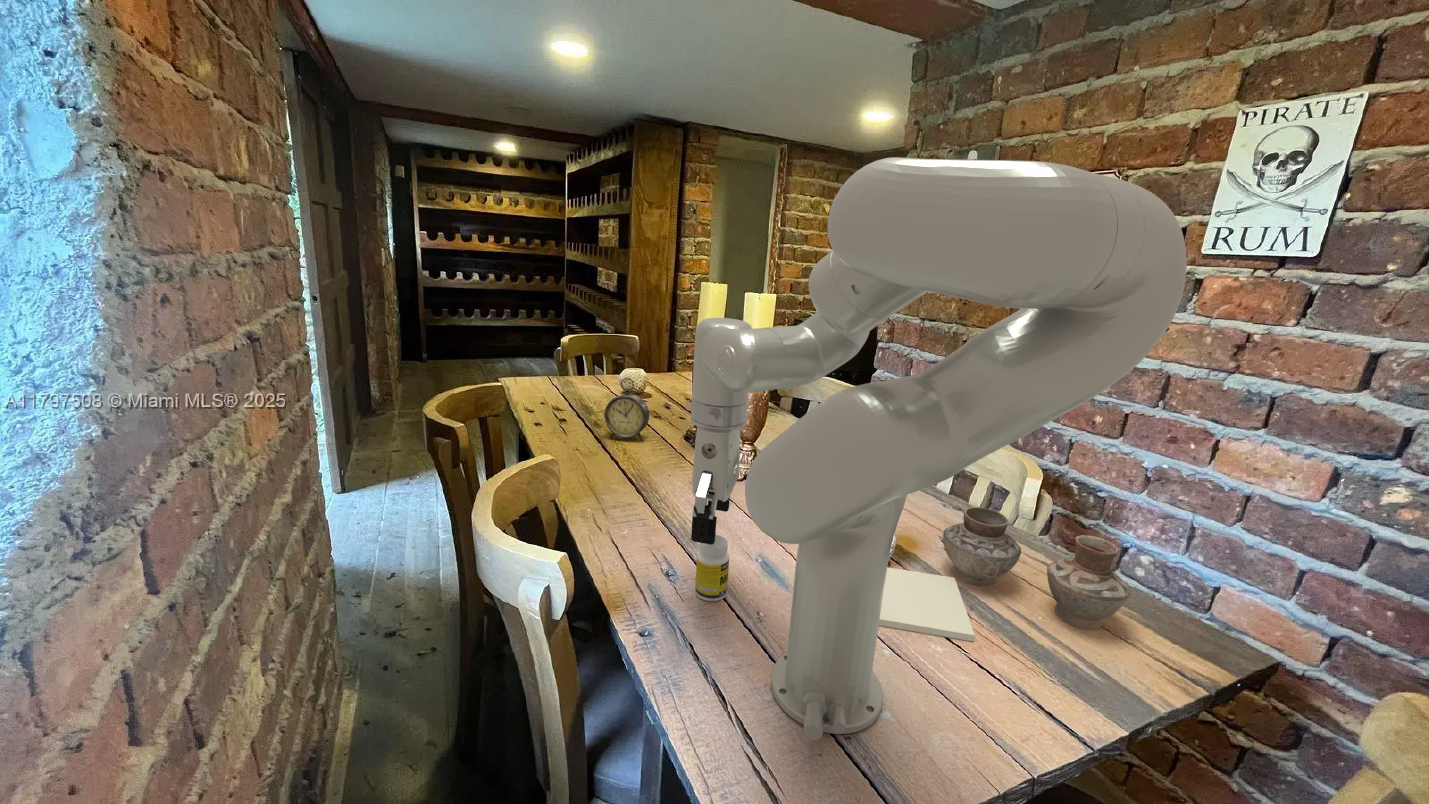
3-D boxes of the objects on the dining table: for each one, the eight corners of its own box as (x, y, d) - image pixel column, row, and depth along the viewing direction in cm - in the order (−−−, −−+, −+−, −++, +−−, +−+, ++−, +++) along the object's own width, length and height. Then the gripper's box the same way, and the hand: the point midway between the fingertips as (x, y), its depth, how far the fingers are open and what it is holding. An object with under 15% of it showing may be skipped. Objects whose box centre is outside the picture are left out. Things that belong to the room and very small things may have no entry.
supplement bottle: (723, 604, 80) (726, 552, 77) (691, 599, 80) (693, 547, 78) (729, 585, 84) (732, 535, 82) (699, 581, 85) (701, 531, 83)
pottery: (1112, 653, 73) (1134, 573, 70) (926, 575, 89) (937, 507, 86) (1125, 616, 81) (1145, 542, 78) (952, 550, 98) (963, 487, 94)
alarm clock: (603, 439, 144) (603, 378, 140) (611, 433, 149) (610, 374, 145) (644, 444, 143) (645, 382, 138) (650, 437, 148) (651, 377, 143)
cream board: (973, 641, 74) (974, 635, 74) (865, 623, 77) (865, 616, 77) (953, 583, 87) (954, 577, 87) (861, 569, 90) (862, 563, 90)
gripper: (734, 436, 66) (724, 562, 71) (756, 398, 83) (746, 502, 88) (673, 428, 68) (668, 551, 73) (706, 391, 84) (700, 495, 89)
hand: (710, 524), depth 80 cm, fingers open, 9 cm apart
